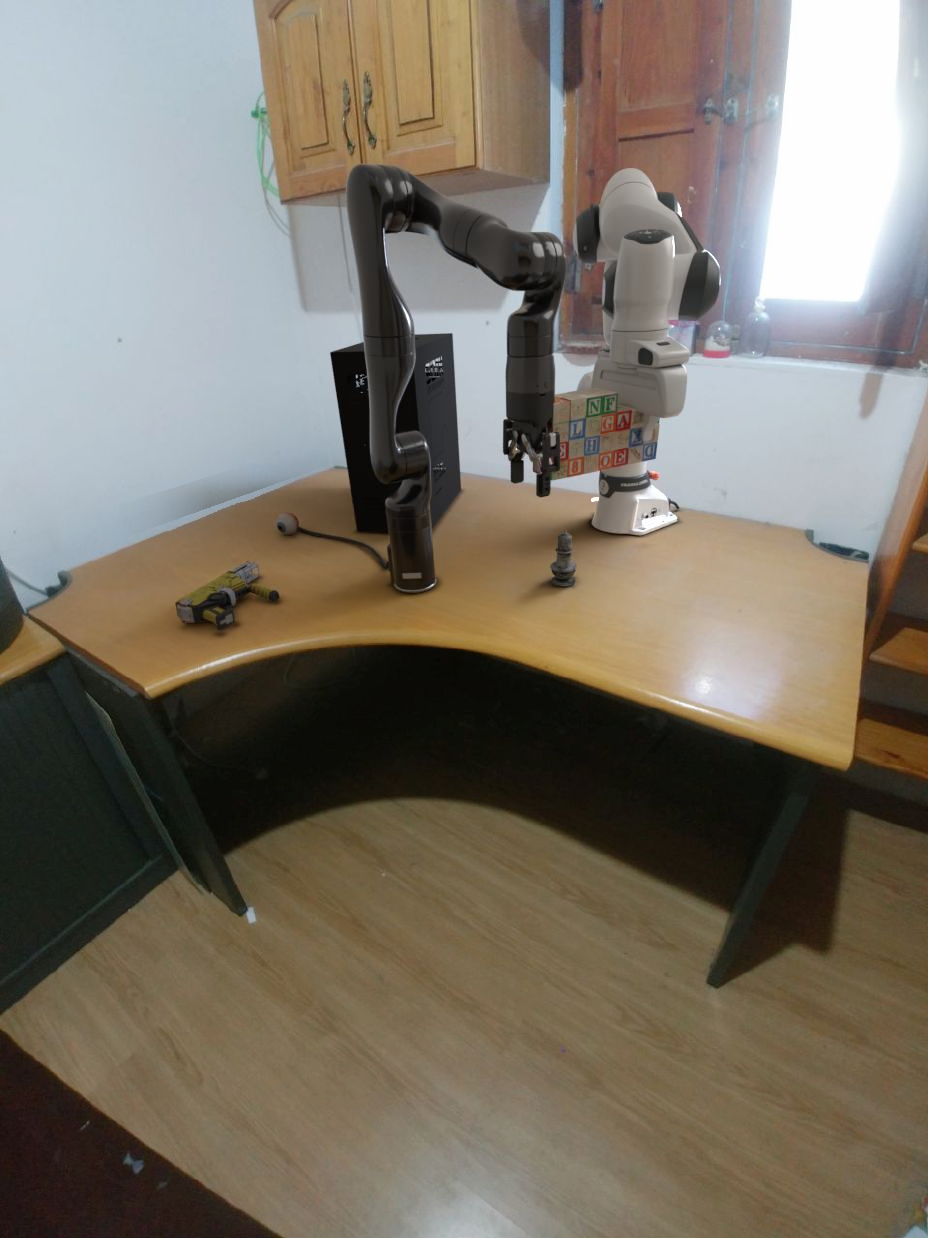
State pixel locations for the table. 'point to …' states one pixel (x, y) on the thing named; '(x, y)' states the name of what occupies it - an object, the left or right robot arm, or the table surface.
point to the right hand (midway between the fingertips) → (630, 435)
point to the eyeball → (287, 523)
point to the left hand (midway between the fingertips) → (529, 489)
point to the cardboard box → (400, 426)
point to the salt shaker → (563, 562)
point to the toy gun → (222, 597)
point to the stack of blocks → (597, 433)
